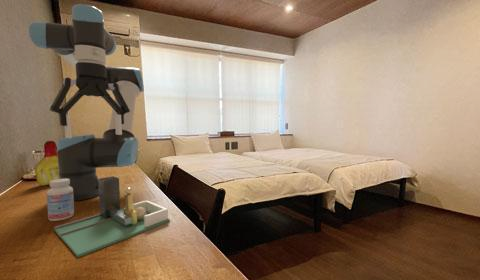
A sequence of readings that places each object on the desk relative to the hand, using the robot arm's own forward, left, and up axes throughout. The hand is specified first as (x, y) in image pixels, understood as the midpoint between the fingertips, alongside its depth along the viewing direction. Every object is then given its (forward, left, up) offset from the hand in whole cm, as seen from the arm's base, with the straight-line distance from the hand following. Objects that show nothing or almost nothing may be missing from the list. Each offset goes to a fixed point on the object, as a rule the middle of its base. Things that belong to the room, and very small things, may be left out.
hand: (95, 136), depth 68 cm
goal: (+16, +6, -24) cm, 29 cm away
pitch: (+13, -1, -24) cm, 27 cm away
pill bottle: (-5, -8, -24) cm, 26 cm away
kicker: (+12, +1, -23) cm, 26 cm away
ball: (+16, +5, -22) cm, 27 cm away
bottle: (-54, 0, -24) cm, 59 cm away
